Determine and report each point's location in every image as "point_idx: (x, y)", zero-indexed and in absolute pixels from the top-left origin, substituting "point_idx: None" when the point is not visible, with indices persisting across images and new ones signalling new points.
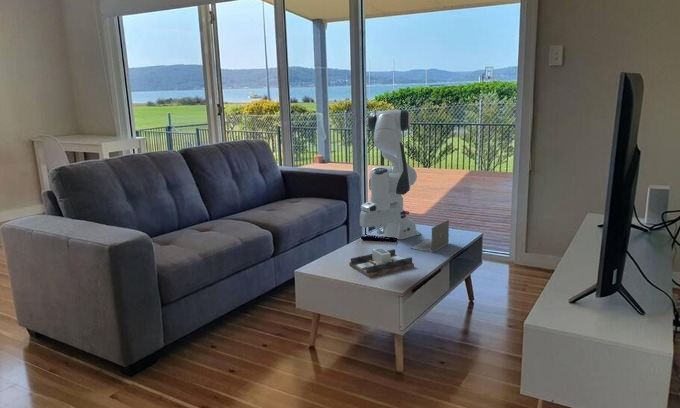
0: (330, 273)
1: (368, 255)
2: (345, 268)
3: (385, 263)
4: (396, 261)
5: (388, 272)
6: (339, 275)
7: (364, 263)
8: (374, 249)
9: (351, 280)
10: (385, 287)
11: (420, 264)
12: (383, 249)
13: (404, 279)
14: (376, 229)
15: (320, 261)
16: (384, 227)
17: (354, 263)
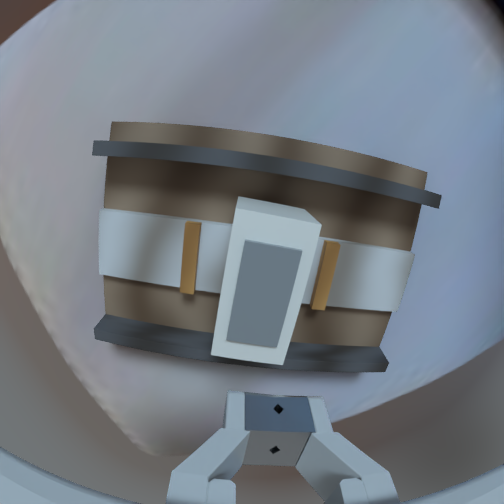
0: (9, 173)
1: (226, 165)
2: (80, 152)
3: (212, 359)
4: (287, 368)
5: None
6: (24, 220)
7: (149, 223)
8: (249, 224)
9: (43, 301)
10: (125, 420)
11: (406, 350)
12: (307, 274)
13: None
14: (208, 442)
15: (65, 2)
16: (323, 496)
17: (123, 157)
